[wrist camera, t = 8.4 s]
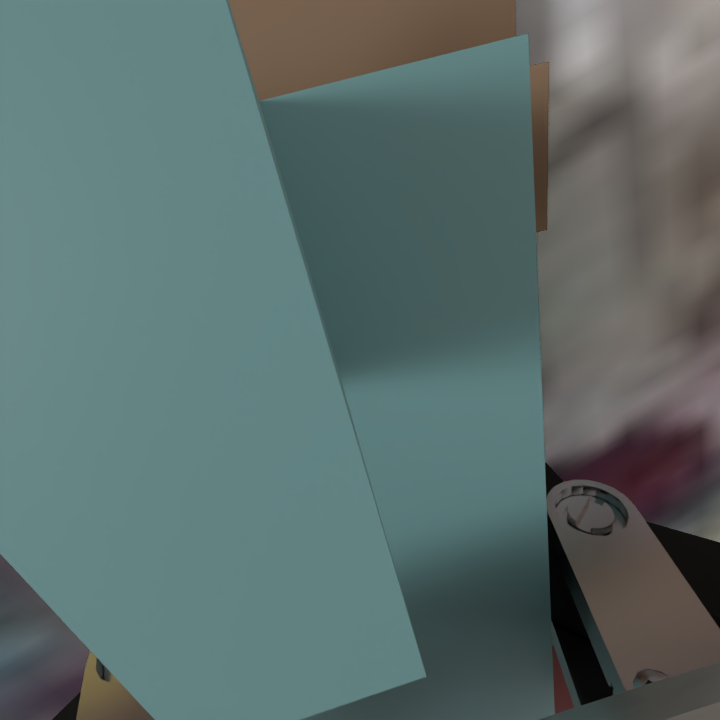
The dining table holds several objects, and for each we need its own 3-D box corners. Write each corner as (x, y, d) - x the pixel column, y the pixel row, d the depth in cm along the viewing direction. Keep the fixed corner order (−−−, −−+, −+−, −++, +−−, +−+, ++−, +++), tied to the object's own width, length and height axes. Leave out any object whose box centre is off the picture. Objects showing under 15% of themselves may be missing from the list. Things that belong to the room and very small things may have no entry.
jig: (-42, 61, 9) (-227, -3, 6) (492, -35, 10) (595, -139, 6) (247, 626, 17) (240, 725, 14) (513, 548, 18) (561, 625, 15)
